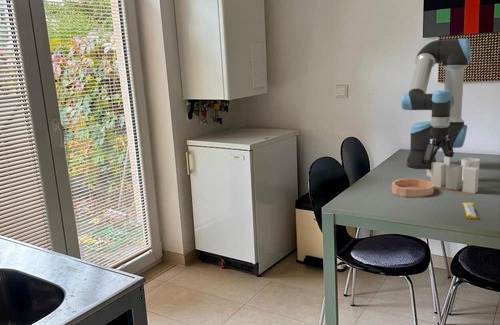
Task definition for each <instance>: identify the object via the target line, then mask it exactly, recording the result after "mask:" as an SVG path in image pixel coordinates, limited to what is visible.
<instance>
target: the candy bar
mask: <svg viewBox="0 0 500 325" xmlns="http://www.w3.org/2000/svg"><path fill="white" fill-rule="evenodd" d="M461 204H462V205H463V209H464V212H465V215H466V219H470V220H479V216H480V215H479V216H478V214H477V213H476V209H475V207H474V206H475V203H474V202H462V203H461Z"/></svg>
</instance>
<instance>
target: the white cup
mask: <svg viewBox="0 0 500 325" xmlns="http://www.w3.org/2000/svg"><path fill="white" fill-rule="evenodd" d="M480 164H481V159H480V158H477V157H463V158H462V157H461V159H460V165H461V166H463V169H464V168H466V167H475V168H479V169H480ZM462 181H463V170H462Z"/></svg>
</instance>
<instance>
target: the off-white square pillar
mask: <svg viewBox="0 0 500 325" xmlns="http://www.w3.org/2000/svg"><path fill="white" fill-rule="evenodd" d="M479 173H480V167H479V168H475V167H466V168H464V169H463V180H462V186H463V189H462V192H468V193H473V194H475V193H477V191H478V189H479V178H480V177H479V176H480V174H479ZM478 192H479V191H478Z"/></svg>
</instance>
